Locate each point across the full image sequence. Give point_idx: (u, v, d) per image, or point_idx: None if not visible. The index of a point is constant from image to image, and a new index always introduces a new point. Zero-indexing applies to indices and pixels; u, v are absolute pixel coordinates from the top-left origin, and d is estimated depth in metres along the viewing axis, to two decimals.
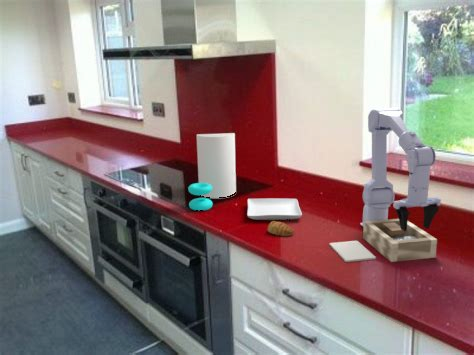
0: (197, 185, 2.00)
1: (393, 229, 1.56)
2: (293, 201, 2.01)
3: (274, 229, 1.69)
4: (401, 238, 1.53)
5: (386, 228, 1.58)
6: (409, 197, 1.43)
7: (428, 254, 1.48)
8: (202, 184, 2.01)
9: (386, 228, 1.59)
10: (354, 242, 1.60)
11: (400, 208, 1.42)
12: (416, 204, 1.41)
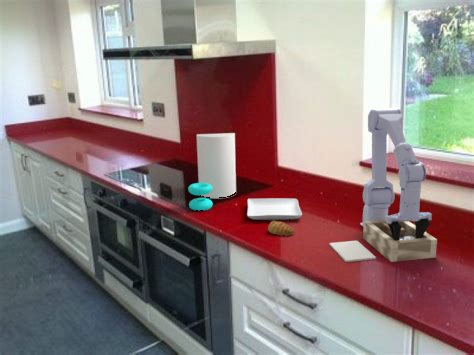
0: (197, 185, 2.00)
1: None
2: (293, 201, 2.01)
3: (274, 229, 1.70)
4: (401, 238, 1.53)
5: (386, 227, 1.58)
6: (401, 212, 1.47)
7: (428, 254, 1.48)
8: (202, 184, 2.01)
9: (386, 228, 1.58)
10: (354, 242, 1.60)
11: (392, 223, 1.47)
12: (408, 219, 1.45)
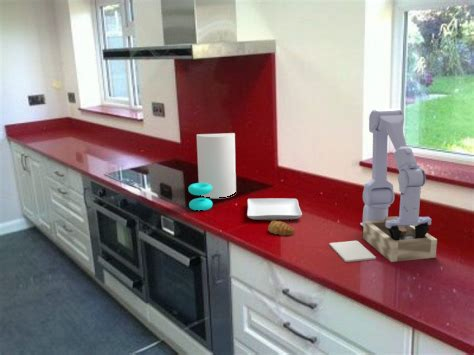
0: (197, 185, 2.00)
1: None
2: (293, 201, 2.01)
3: (275, 229, 1.70)
4: None
5: None
6: (401, 217, 1.47)
7: (428, 254, 1.48)
8: (202, 184, 2.01)
9: None
10: (354, 242, 1.60)
11: (392, 227, 1.47)
12: (407, 224, 1.46)
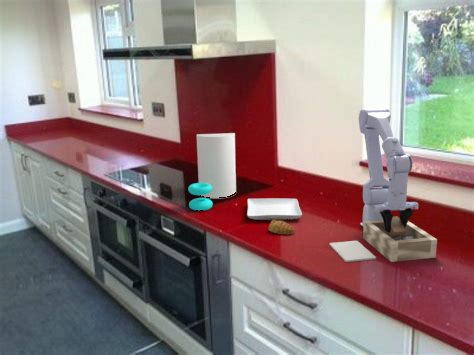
0: (197, 185, 2.00)
1: (395, 229, 1.54)
2: (293, 201, 2.01)
3: (275, 228, 1.70)
4: None
5: None
6: (389, 201, 1.54)
7: (428, 254, 1.48)
8: (202, 184, 2.01)
9: None
10: (354, 242, 1.60)
11: (384, 211, 1.54)
12: (395, 208, 1.53)
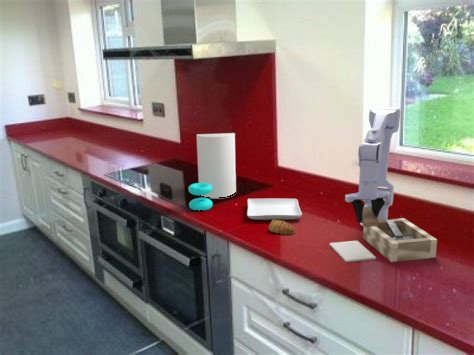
0: (197, 185, 2.00)
1: (367, 220, 1.49)
2: (293, 201, 2.01)
3: (276, 228, 1.71)
4: None
5: None
6: (360, 191, 1.49)
7: (428, 254, 1.48)
8: (202, 184, 2.01)
9: None
10: (354, 242, 1.60)
11: (355, 201, 1.49)
12: (366, 197, 1.48)
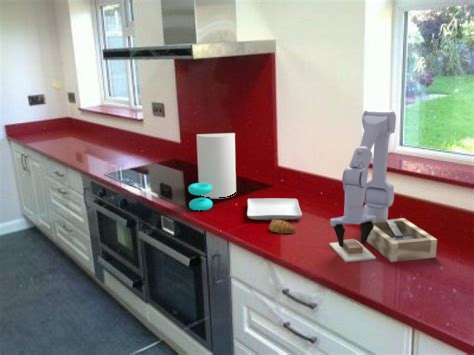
0: (197, 185, 2.00)
1: (351, 246, 1.51)
2: (293, 201, 2.01)
3: (276, 227, 1.71)
4: None
5: (344, 245, 1.54)
6: (345, 215, 1.50)
7: (428, 254, 1.48)
8: (202, 184, 2.01)
9: (344, 245, 1.54)
10: None
11: (336, 225, 1.50)
12: (351, 222, 1.48)
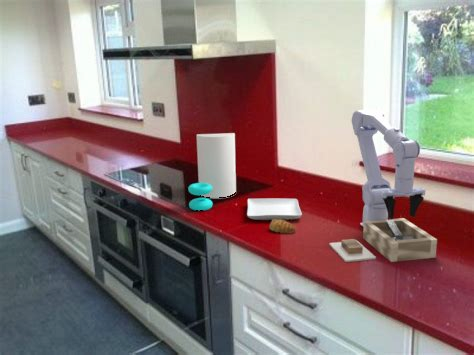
0: (197, 185, 2.00)
1: (351, 246, 1.51)
2: (293, 201, 2.01)
3: (276, 227, 1.71)
4: None
5: (344, 245, 1.54)
6: (396, 187, 1.54)
7: (428, 254, 1.48)
8: (202, 184, 2.01)
9: (344, 245, 1.54)
10: None
11: (387, 197, 1.54)
12: (402, 194, 1.52)
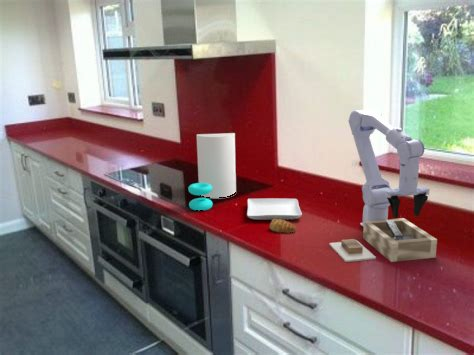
0: (197, 185, 2.00)
1: (351, 246, 1.51)
2: (293, 201, 2.01)
3: (277, 227, 1.72)
4: None
5: (344, 245, 1.54)
6: (400, 187, 1.54)
7: (428, 254, 1.48)
8: (202, 184, 2.01)
9: (344, 245, 1.54)
10: None
11: (392, 197, 1.54)
12: (406, 193, 1.53)
